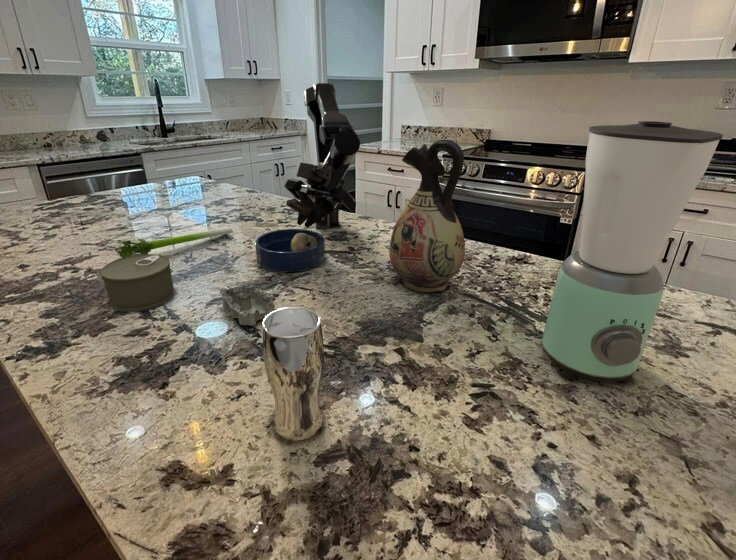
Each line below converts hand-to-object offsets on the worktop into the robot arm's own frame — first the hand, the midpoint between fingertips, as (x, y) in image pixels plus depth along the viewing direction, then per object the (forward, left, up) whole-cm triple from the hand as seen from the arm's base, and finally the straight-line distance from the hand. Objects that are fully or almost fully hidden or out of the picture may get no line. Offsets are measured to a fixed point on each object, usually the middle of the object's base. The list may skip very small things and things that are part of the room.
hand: (302, 225), depth 96 cm
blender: (-36, +49, -9) cm, 62 cm away
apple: (+2, -2, -7) cm, 7 cm away
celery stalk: (+30, -16, -9) cm, 35 cm away
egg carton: (+14, +21, -9) cm, 27 cm away
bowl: (+3, -2, -9) cm, 9 cm away
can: (+34, +10, -9) cm, 36 cm away
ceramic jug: (-23, +19, -9) cm, 31 cm away
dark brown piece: (-6, -4, -1) cm, 8 cm away
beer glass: (+9, +51, -9) cm, 53 cm away
